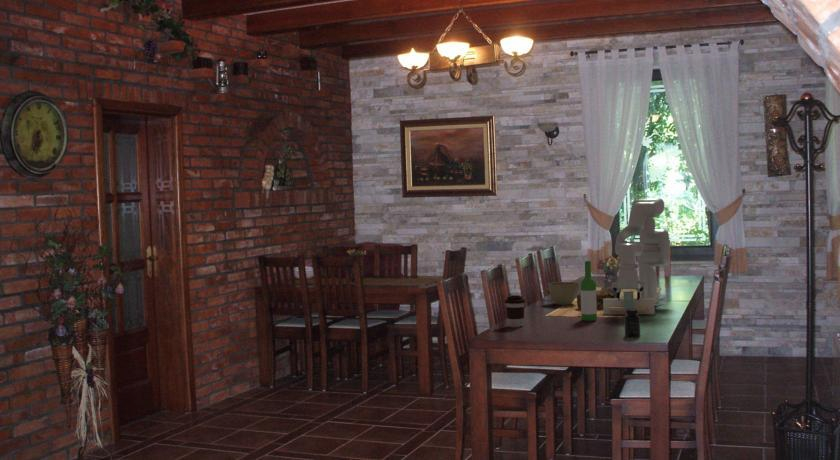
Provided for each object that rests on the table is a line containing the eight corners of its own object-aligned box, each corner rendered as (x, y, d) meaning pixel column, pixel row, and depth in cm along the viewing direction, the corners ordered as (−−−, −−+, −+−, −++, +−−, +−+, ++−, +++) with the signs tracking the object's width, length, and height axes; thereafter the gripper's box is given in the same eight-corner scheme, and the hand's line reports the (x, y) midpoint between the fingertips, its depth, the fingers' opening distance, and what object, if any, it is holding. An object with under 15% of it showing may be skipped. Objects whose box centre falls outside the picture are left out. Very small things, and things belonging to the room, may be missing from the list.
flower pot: (584, 302, 489) (583, 282, 489) (572, 307, 474) (571, 285, 474) (555, 301, 499) (555, 281, 499) (543, 305, 484) (542, 284, 483)
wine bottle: (580, 321, 423) (578, 261, 421) (582, 319, 430) (581, 260, 429) (595, 321, 420) (594, 261, 419) (598, 319, 427) (596, 260, 426)
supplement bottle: (622, 335, 380) (622, 308, 379) (637, 334, 380) (636, 308, 380) (627, 337, 373) (627, 310, 373) (642, 336, 374) (642, 310, 373)
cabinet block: (623, 306, 441) (623, 291, 441) (633, 306, 440) (633, 291, 439) (623, 308, 434) (623, 293, 434) (633, 308, 433) (633, 293, 432)
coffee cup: (502, 326, 416) (501, 295, 416) (519, 324, 420) (518, 294, 420) (511, 328, 407) (511, 297, 407) (529, 326, 411) (528, 296, 411)
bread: (606, 306, 473) (606, 288, 473) (615, 308, 463) (615, 290, 463) (576, 308, 469) (575, 290, 468) (584, 311, 459) (584, 292, 458)
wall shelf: (603, 312, 449) (603, 297, 449) (654, 312, 443) (653, 297, 443) (603, 315, 439) (602, 300, 439) (654, 315, 433) (654, 300, 432)
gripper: (644, 266, 438) (645, 299, 439) (610, 266, 442) (611, 299, 443) (645, 267, 431) (645, 300, 432) (610, 268, 435) (611, 301, 436)
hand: (628, 300), depth 437 cm, fingers open, 9 cm apart
